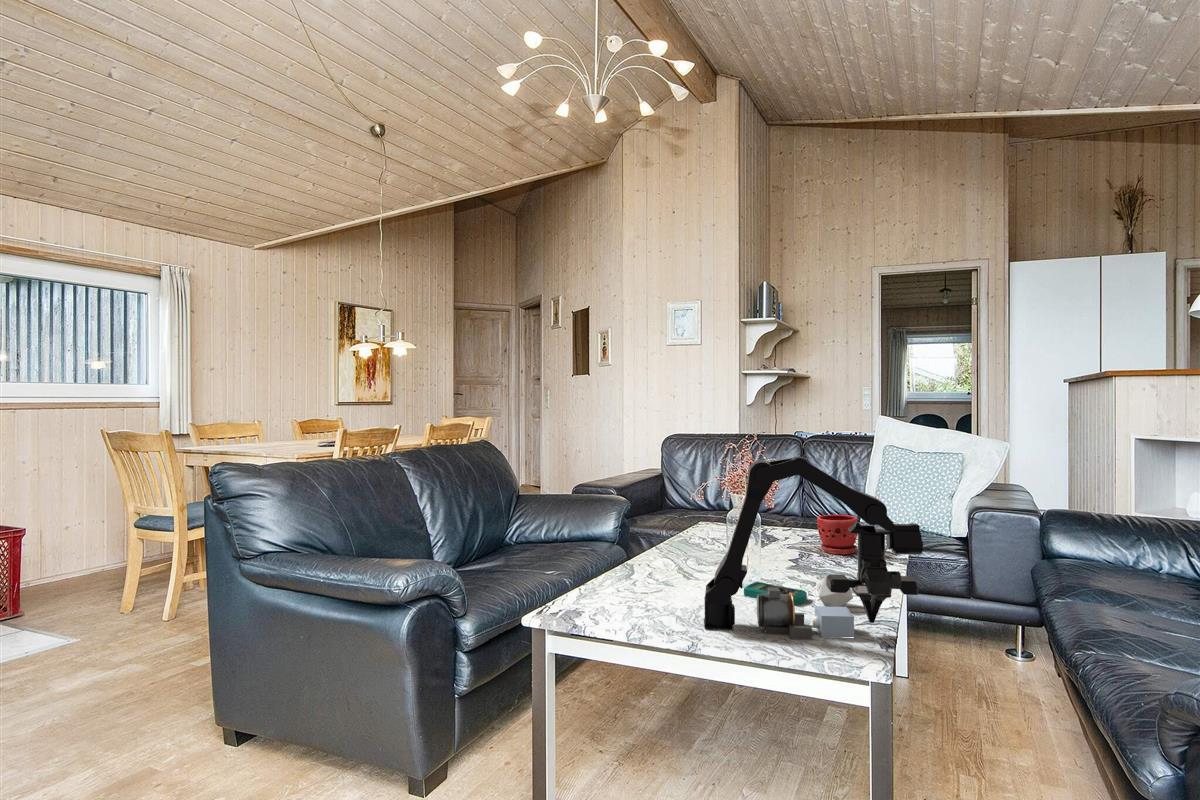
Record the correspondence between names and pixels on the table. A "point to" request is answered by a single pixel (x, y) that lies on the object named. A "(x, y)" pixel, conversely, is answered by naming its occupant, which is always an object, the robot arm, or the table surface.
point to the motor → (775, 611)
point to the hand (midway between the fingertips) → (871, 622)
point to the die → (832, 595)
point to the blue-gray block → (833, 621)
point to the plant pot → (837, 533)
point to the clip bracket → (800, 629)
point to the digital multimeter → (762, 588)
